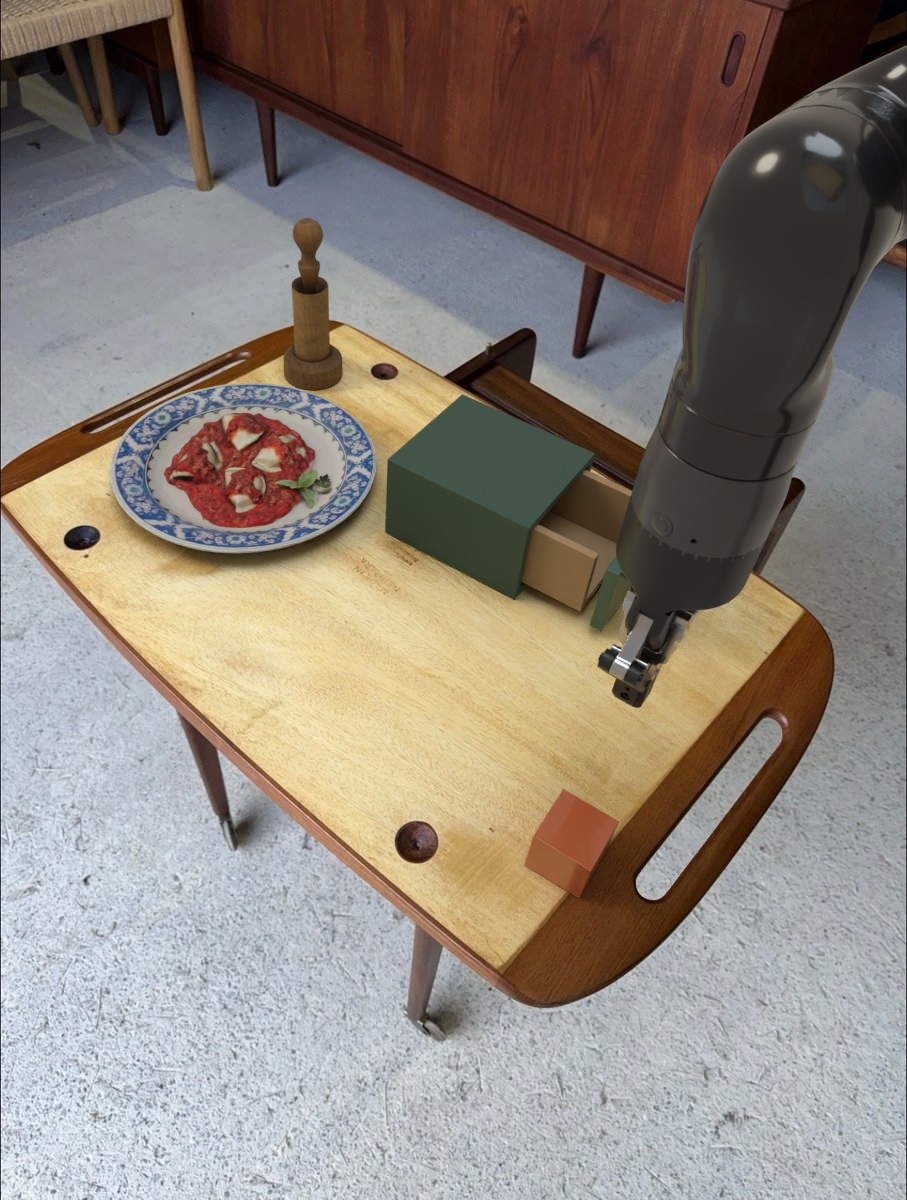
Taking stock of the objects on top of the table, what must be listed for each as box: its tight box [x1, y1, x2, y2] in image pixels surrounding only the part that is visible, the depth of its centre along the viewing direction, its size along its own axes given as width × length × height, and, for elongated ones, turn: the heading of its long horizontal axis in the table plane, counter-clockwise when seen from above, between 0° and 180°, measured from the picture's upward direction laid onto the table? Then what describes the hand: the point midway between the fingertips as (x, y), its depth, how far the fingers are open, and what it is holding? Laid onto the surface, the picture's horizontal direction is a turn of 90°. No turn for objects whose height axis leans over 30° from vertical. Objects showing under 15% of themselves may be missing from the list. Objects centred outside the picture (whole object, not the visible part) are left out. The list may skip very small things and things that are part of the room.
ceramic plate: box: [109, 382, 377, 554], centre depth 89 cm, size 26×26×3 cm
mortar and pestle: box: [283, 217, 343, 391], centre depth 96 cm, size 7×6×18 cm
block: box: [524, 788, 620, 899], centre depth 64 cm, size 4×4×4 cm
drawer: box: [521, 470, 632, 632], centre depth 81 cm, size 19×11×7 cm, turn 57°
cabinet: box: [384, 393, 596, 601], centre depth 85 cm, size 15×13×9 cm
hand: (630, 694), depth 61 cm, fingers closed
